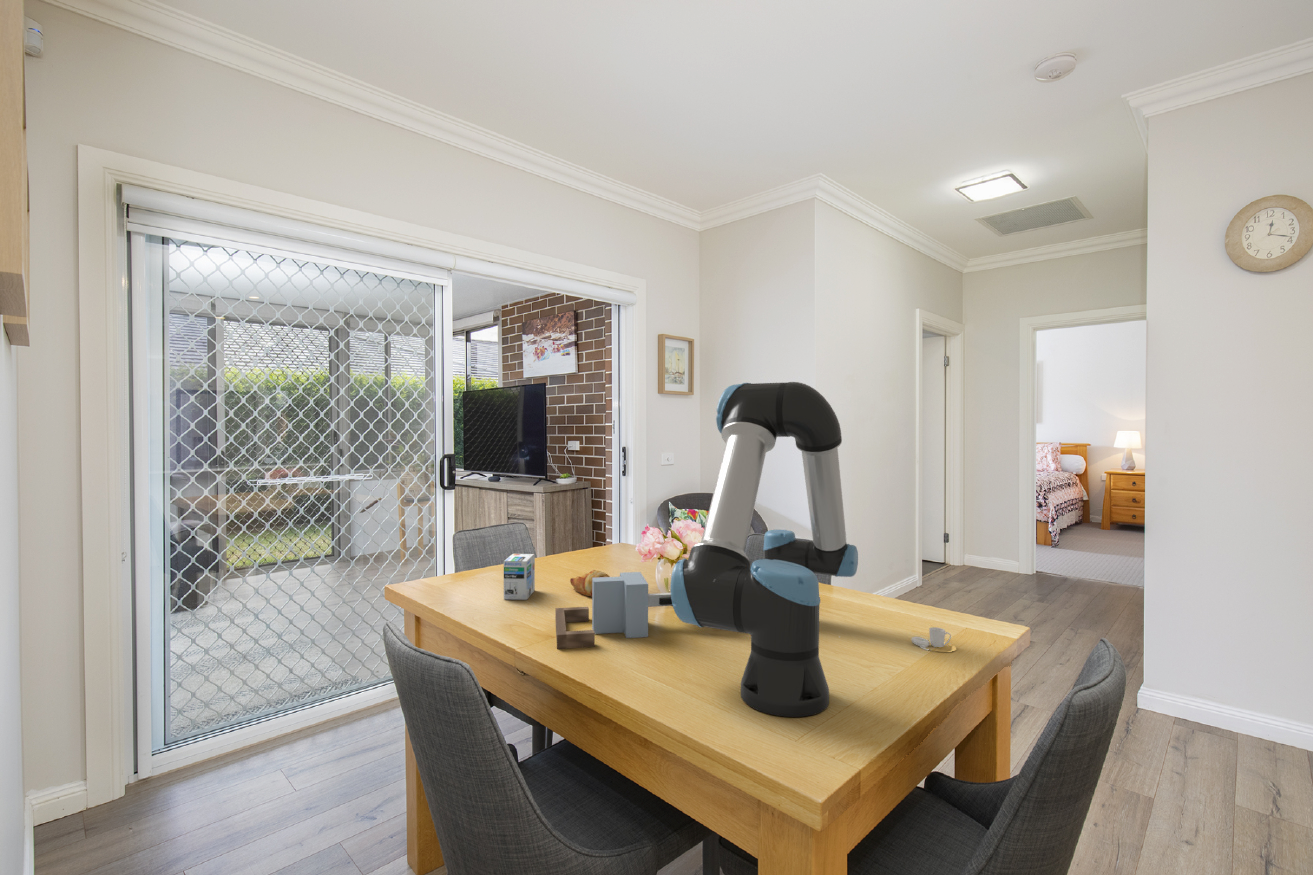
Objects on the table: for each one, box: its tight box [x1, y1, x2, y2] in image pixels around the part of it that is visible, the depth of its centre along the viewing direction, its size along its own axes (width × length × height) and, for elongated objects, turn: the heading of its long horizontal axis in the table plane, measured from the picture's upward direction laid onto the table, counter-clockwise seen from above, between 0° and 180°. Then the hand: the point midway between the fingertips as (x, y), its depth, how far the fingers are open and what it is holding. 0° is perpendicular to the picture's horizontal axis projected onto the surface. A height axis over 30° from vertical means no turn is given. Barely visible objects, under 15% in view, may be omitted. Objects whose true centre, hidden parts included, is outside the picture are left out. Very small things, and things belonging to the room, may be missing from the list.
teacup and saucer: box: [910, 626, 952, 651], centre depth 135 cm, size 9×8×4 cm
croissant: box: [569, 569, 611, 598], centre depth 177 cm, size 21×10×8 cm, turn 55°
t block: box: [591, 571, 649, 639], centre depth 145 cm, size 12×12×12 cm
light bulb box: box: [503, 553, 536, 601], centre depth 175 cm, size 11×7×11 cm, turn 179°
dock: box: [554, 606, 596, 650], centre depth 143 cm, size 8×20×3 cm, turn 10°
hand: (644, 600), depth 147 cm, fingers closed
